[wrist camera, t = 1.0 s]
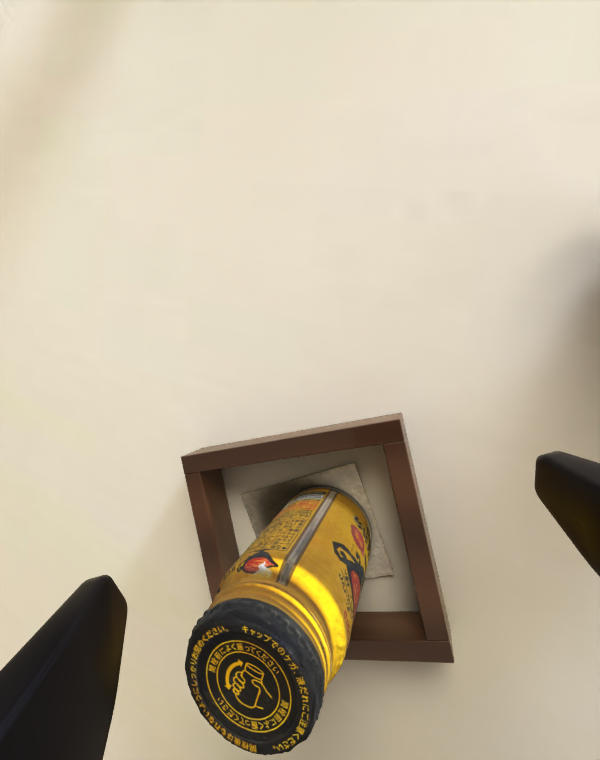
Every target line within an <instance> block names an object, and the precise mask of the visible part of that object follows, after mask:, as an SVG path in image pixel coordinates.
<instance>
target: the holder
mask: <svg viewBox="0 0 600 760" xmlns="http://www.w3.org/2000/svg"><path fill="white" fill-rule="evenodd" d="M378 444H383V447H384V452H385V456H386V461H387V465H388V470H389V474H390V479H391V483H392V488H393V492H394V497H395V501H396V506H397V510H398V515H399V519H400V523H401V528H402V532H403V537H404V541H405V546H406V550H407V555H408V559H409V564H410V568H411V573H412V577H413V582H414V586H415V591H416V595H417V600H418V604H419V609H420V612H356V613H355V617H354V621H353V625H352V630H351V634H350V641H349V645H348V648H347V650H346V656H345V658H344V659H349V660H379V661H409V662H439V663H454V655H453V647H452V639H451V631H450V626H449V622H448V617H447V613H446V608H445V604H444V599H443V595H442V590H441V586H440V581H439V577H438V573H437V568H436V564H435V559H434V555H433V550H432V546H431V541H430V537H429V532H428V528H427V523H426V519H425V514H424V510H423V506H422V501H421V497H420V492H419V488H418V483H417V479H416V474H415V470H414V465H413V461H412V456H411V452H410V448H409V443H408V439H407V434H406V430H405V425H404V421H403V416H402V413H397V414H391V415H385V416H380V417H374V418H369V419H363V420H357V421H352V422H346V423H340V424H335V425H329V426H324V427H318V428H312V429H307V430H301V431H296V432H290V433H284V434H279V435H273V436H267V437H262V438H256V439H251V440H245V441H239V442H234V443H228V444H222V445H217V446H211V447H206V448H201V449H199V450H196V451H194V452H191V453H189V454H187V455H184V456H182V457H181V460H182V464H183V469H184V474H185V478H186V482H187V487H188V492H189V496H190V501H191V506H192V510H193V515H194V520H195V524H196V529H197V534H198V538H199V543H200V548H201V552H202V557H203V562H204V566H205V571H206V576H207V580H208V585H209V590H210V594H211V599H212V602H213V600H214V599H215V596H216V594H217V591H218V588H219V585H220V583H221V580H222V579H223V577H224V576H225V574H226V573H227V572H228V570H229V569H230V568H231V567H232V566H233V565H234V563H235V562H236V561H237V560H238V559H239V553H238V549H237V544H236V539H235V535H234V530H233V525H232V521H231V516H230V512H229V507H228V502H227V498H226V493H225V488H224V484H223V479H222V474H221V470H220V469H222V468H228V467H235V466H241V465H248V464H254V463H261V462H267V461H274V460H280V459H287V458H293V457H300V456H306V455H313V454H319V453H326V452H332V451H339V450H345V449H352V448H358V447H365V446H371V445H378Z"/></svg>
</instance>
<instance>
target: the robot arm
mask: <svg viewBox="0 0 600 760" xmlns="http://www.w3.org/2000/svg"><path fill="white" fill-rule="evenodd" d="M535 490H536V493H537V495H538V497H539V498H540V500H541V501H542V502H543V504H544V505H545V507H546V508H547V509H548V511H549V512H550V513H551V515H552V516H553V517H554V519H555V520H556V521H557V523H558V524H559V525H560V527H561V528H562V529H563V531H564V532H565V533H566V535H567V536H568V537H569V539H570V540H571V541H572V543H573V544H574V545H575V547H576V548H577V549H578V551H579V552H580V553H581V555H582V556H583V557H584V558H585V560H586V561H587V562H588V563H589V565H590V566H591V567H592V568H593V569H594V571H595V572H596V573H597V574H598V575H599V576H600V463H597V462H593V461H590V460H587V459H584V458H580V457H577V456H574V455H571V454H568V453H564V452H561V451H554V452H551V453H547V454H543V455H540V456H539V457H538V458H537V460H536V470H535ZM126 619H127V603H126V600H125V598H124V596H123V595H122V593H121V592H120V590H119V589H118V587H117V586H116V584H115V583H114V581H113V579H112V578H111V577H110V576H108V575H102V576H99V577H95V578H91V579H88V580H86V581H85V582H83V583H82V584H81V585H80V587H79V588H78V589H77V590H76V591H75V592H74V593H73V594H72V595H71V596H70V597H69V598H68V599H67V600H66V601H65V603H64V604H63V605H62V606H61V607H60V608H59V609H58V610H57V611H56V612H55V613H54V614H53V615H52V616H51V617H50V619H49V620H48V621H47V622H46V623H45V624H44V625H43V626H42V627H41V628H40V629H39V630H38V631H37V632H36V633H35V635H34V636H33V637H32V638H31V639H30V640H29V641H28V642H27V643H26V644H25V645H24V646H23V647H22V648H21V650H20V651H19V652H18V653H17V654H16V655H15V656H14V657H13V658H12V659H11V660H10V661H9V662H8V663H7V664H6V666H5V667H4V668H3V669H2V670H1V671H0V760H103V755H104V751H105V747H106V742H107V738H108V733H109V729H110V724H111V720H112V715H113V710H114V705H115V700H116V693H117V687H118V680H119V672H120V665H121V657H122V650H123V642H124V634H125V627H126Z"/></svg>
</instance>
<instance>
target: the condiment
mask: <svg viewBox="0 0 600 760" xmlns="http://www.w3.org/2000/svg"><path fill="white" fill-rule="evenodd" d="M241 497H242V499H243V502H244V505H245V506H246V508H247V512H248V515H249V517H250V520H251V523H252V526H253V528H254V531H255V534H256V537H257V539H256V540H255V541H254V542H253V543H252V544H251V545H250V546H249V548H248V549H247V550H246V551H245V552H244V553H243V554H242V555H241V557H240V558H239V559H238V560H237V561H236V562H235V563H234V565H233V566H232V567H231V568H230V569H229V570H228V572H227V573H226V574H225V576H224V577H223V579H222V580H221V583H220V585H219V588H218V591H217V594H216V596H215V599H214V600H213V602H212V604H211V606H210V607H209V609H208V610H206V611H205V612H204V615H203V617H201V618H200V619H198V621H197V625H196V626H194V629H193V630H192V636H191V637H190V639H189V644H188V649H187V656H186V661H185V671H186V675H187V681H188V686H189V688H190V690H191V695H192V697H193V699H194V700H195V702H196V704H197V706H198V708H199V710H200V713H201V714H202V715H203V717H204V718H205V719H206V720H207V721H208V722H209V724H210V725H211V726H212V727H213V728H214V729H215V730H216V731H217V732H218V733H219V734H221V735H222V736H223V737H224V738H225V739H226V740H227V741H229V742H231V743H232V744H234V745H236V746H237V747H239V748H241V749H243V750H246V751H248V752H252V753H256V754H263V755H268V754H269V755H272V754H278V753H284V752H289V751H291V750H292V749H293V748H294V747H295V746H296V745H298V744H299V743H301V742H302V741H304V740H306V739H307V738H308V736H309V735H310V733H311V731H312V728H313V726H314V724H315V722H316V720H317V719H318V715H319V712H320V709H321V707H322V702H323V696H324V693H325V691H326V689H327V686H328V684H329V683H330V682H331V680H332V679H333V678H334V676H335V675H336V673H337V672H338V670H339V669H340V667H341V665H342V662H343V660H344V658H345V656H346V650H347V648H348V645H349V641H350V634H351V630H352V625H353V621H354V617H355V613H356V609H357V605H358V601H359V597H360V592H361V589H362V586H363V582H364V579H367V578H375V577H380V576H387V575H394V573H393V570H392V567H391V564H390V561H389V558H388V555H387V552H386V550H385V547H384V543H383V541H382V538H381V535H380V532H379V529H378V526H377V523H376V521H375V518H374V515H373V512H372V509H371V507H370V504H369V501H368V498H367V496H366V493H365V490H364V488H363V486H362V483H361V480H360V477H359V474H358V471H357V468H356V465H355V463H352V464H349V465H345V466H341V467H337V468H333V469H330V470H326V471H323V472H319V473H315V474H311V475H308V476H304V477H301V478H297V479H293V480H290V481H288V482H284V483H280V484H276V485H273V486H269V487H265V488H262V489H258V490H255V491H252V492H248V493H244V494H241Z"/></svg>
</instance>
